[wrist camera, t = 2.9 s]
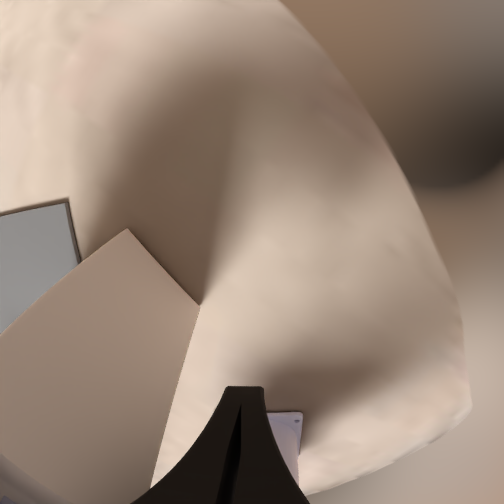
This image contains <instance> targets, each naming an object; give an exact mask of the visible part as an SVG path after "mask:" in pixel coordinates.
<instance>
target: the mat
mask: <svg viewBox="0 0 504 504" xmlns="http://www.w3.org/2000/svg"><path fill="white" fill-rule="evenodd" d="M80 263H81V261H80V257H79V253H78V249H77V245H76V240H75V236H74V231H73V227H72V222H71V216H70V211H69V205H68V202H66V203H61V204H56V205H50V206H45V207H40V208H35V209H30V210H26V211H21V212H16V213H12V214H8V215H3V216H0V334H1V333H2V332H3V331H4V330H5V329H6V328H7V327H8V326H9V325H10V324H12V323H13V322H14V321H15V320H16V319H17V318H18V317H19V316H20V315H21V314H22V313H23V312H24V311H25V310H26V309H27V308H29V307H30V306H31V305H32V304H33V303H34V302H35V301H36V300H37V299H39V298H40V297H41V296H42V295H43V294H44V293H45V292H46V291H48V290H49V289H50V288H51V287H52V286H53V285H55V284H56V283H57V282H58V281H59V280H60V279H62V278H63V277H64V276H65V275H66V274H68V273H69V272H70V271H71V270H73V269H74V268H75V267H76V266H77V265H79V264H80Z"/></svg>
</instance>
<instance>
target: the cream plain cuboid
mask: <svg viewBox="0 0 504 504" xmlns="http://www.w3.org/2000/svg"><path fill="white" fill-rule="evenodd" d="M199 311H200V306H199V305H198V304H197V303H196V302H195V301H194V300H193V299H192V298H191V297H190V296H189V295H188V294H187V293H186V292H185V291H184V290H183V289H182V288H181V287H180V286H179V285H178V284H177V283H176V282H175V280H174V279H173V278H172V277H171V276H170V275H169V274H168V273H167V272H166V271H165V270H164V269H163V268H162V267H161V265H160V264H159V263H158V262H157V261H156V260H155V259H154V258H153V257H152V256H151V254H150V253H149V252H148V251H147V250H146V249H145V248H144V247H143V245H142V244H141V243H140V242H139V241H138V240H137V239H136V238H135V236H134V235H133V234H132V233H131V232H130V231H129V229H127V228H126V229H125V230H123V231H122V232H120V233H119V234H118V235H116V236H115V237H114V238H112V239H111V240H110V241H108V242H107V243H106V244H104V245H103V246H102V247H100V248H99V249H98V250H97V251H95V252H94V253H93V254H91V255H90V256H89V257H88V258H86V259H85V260H84V261H82V262H81V263H80V264H79V265H77V266H76V267H75V268H74V269H73V270H71V271H70V272H69V273H68V274H66V275H65V276H64V277H63V278H62V279H60V280H59V281H58V282H57V283H56V284H55V285H53V286H52V287H51V288H50V289H49V290H48V291H46V292H45V293H44V294H43V295H42V296H41V297H40V298H39V299H37V300H36V301H35V302H34V303H33V304H32V305H31V306H30V307H29V308H27V309H26V310H25V311H24V312H23V313H22V314H21V315H20V316H19V317H18V318H17V319H16V320H15V321H14V322H13V323H12V324H10V325H9V326H8V327H7V328H6V329H5V330H4V331H3V332H2V333H1V334H0V502H1V500H2V498H3V496H6V497H8V498H9V499H11V500H12V501H13V502H15V503H16V504H130V503H132V502H133V501H135V500H136V499H138V498H139V497H140V496H142V495H143V494H144V493H145V492H147V491H148V490H149V489H150V486H151V482H152V478H153V474H154V470H155V466H156V462H157V458H158V454H159V450H160V446H161V442H162V439H163V435H164V431H165V427H166V424H167V420H168V416H169V413H170V409H171V405H172V402H173V398H174V395H175V391H176V388H177V384H178V381H179V377H180V374H181V370H182V367H183V364H184V360H185V357H186V353H187V350H188V347H189V343H190V340H191V337H192V333H193V330H194V327H195V324H196V320H197V317H198V314H199Z"/></svg>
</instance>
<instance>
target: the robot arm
mask: <svg viewBox="0 0 504 504" xmlns="http://www.w3.org/2000/svg"><path fill="white" fill-rule="evenodd" d="M302 422H303V414H302V413H301V412H283V413H267V412H266V407H265V401H264V388H262V387H261V386H228V387H226V388H225V391H224V393H223V395H222V398H221V400H220V402H219V404H218V406H217V408H216V409H215V411H214V413H213V414H212V417H211V418H210V420H209V422H208V423H207V425H206V426H205V428H204V430H203V431H202V433H201V434H200V435H199V437H198V438H197V440H196V441H195V442H194V444H193V445H192V447H191V448H190V449H189V450H188V452H187V453H186V454H185V455H184V456H183V458H182V459H181V460H180V461H179V462H178V463H177V464H176V465H175V466H174V468H173V469H172V470H171V471H170V472H168V473H167V474H166V475H165V476H164V477H163V478H162V479H161V480H160V481H159V482H158V483H157V484H156V485H154V486H153V487H152V488H151V489H149V490H148V491H147V492H145V493H144V494H143V495H142V496H140V497H139V498H138V499H136V500H135V501H133V502H132V503H130V504H310V503H309V501H308V500H307V498H306V497H305V496H304V494H303V493H302V491H301V490H300V488H299V476H298V456H299V448H300V439H301V431H302ZM0 504H16V503H15V502H13V501H12V500H11V499H9V498H8V497H6V496H3V498H2V500H1V502H0Z"/></svg>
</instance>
